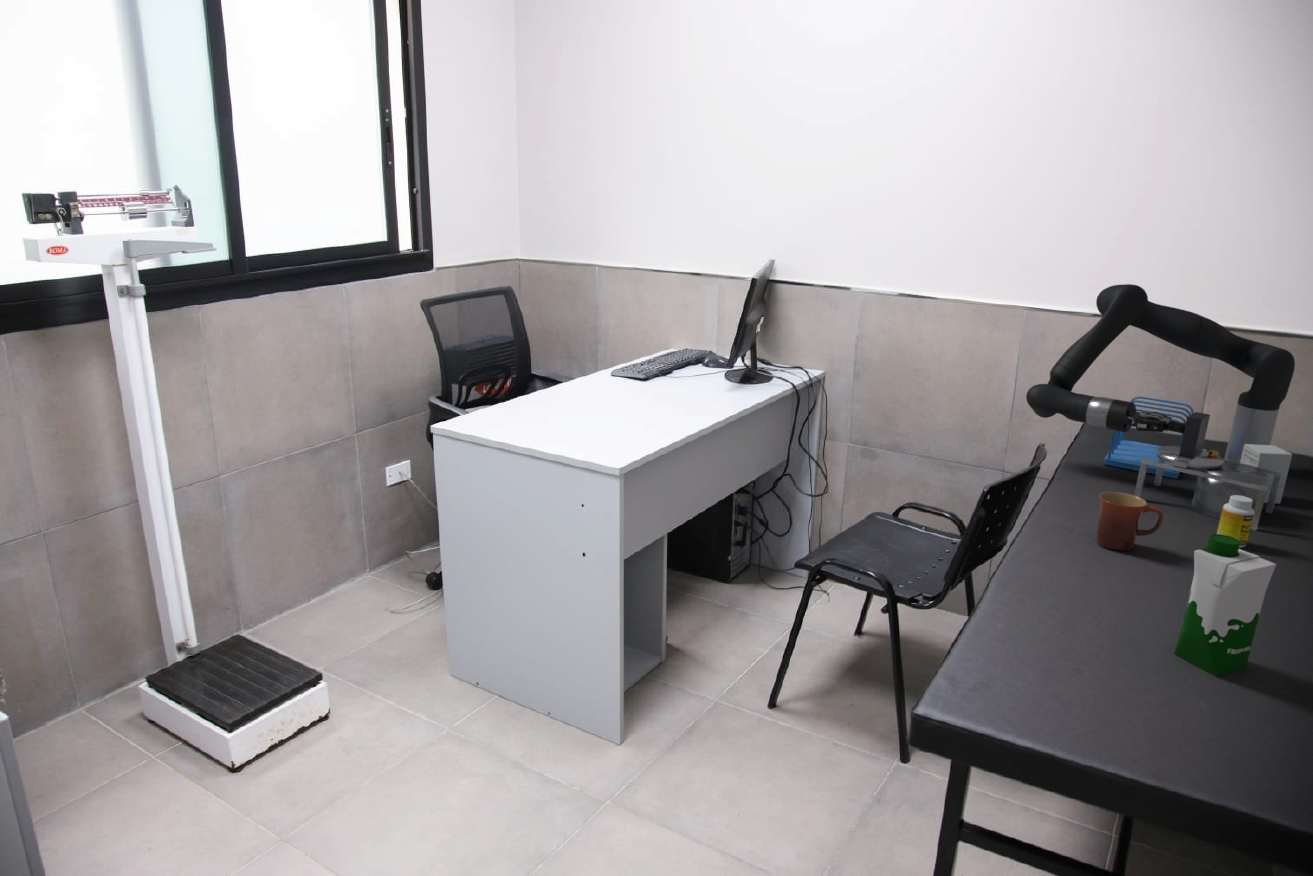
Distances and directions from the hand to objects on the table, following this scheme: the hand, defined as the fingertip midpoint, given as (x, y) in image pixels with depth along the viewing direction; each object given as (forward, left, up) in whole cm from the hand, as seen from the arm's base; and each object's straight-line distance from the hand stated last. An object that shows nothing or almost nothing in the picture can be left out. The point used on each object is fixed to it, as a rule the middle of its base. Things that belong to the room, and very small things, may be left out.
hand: (1188, 429), depth 204 cm
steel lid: (0, +2, -7) cm, 7 cm away
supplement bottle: (+21, +17, -18) cm, 32 cm away
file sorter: (-28, -14, -18) cm, 36 cm away
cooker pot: (0, +6, -17) cm, 18 cm away
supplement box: (-17, +14, -18) cm, 28 cm away
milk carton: (+79, +27, -18) cm, 85 cm away
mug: (+41, +2, -18) cm, 45 cm away
